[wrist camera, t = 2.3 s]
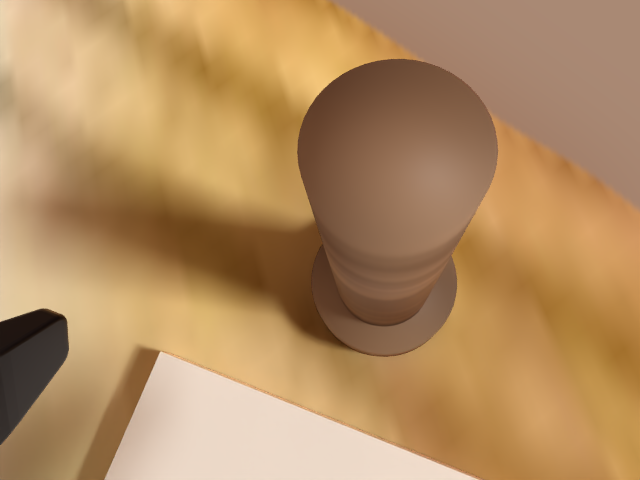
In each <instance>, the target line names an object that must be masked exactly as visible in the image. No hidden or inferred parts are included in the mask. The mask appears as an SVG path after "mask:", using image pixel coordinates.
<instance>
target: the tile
mask: <svg viewBox="0 0 640 480" xmlns="http://www.w3.org/2000/svg"><path fill="white" fill-rule="evenodd" d="M104 480H484V479H482V478H479V477H477V476H474V475H472V474H469V473H467V472H464V471H462V470H459V469H457V468H454V467H452V466H449V465H447V464H444V463H442V462H439V461H437V460H434V459H432V458H430V457H427V456H425V455H422V454H420V453H417V452H415V451H412V450H410V449H407V448H405V447H402V446H400V445H397V444H395V443H392V442H390V441H387V440H385V439H382V438H380V437H377V436H375V435H372V434H370V433H367V432H365V431H362V430H360V429H357V428H355V427H352V426H350V425H348V424H345V423H343V422H340V421H338V420H335V419H333V418H330V417H328V416H325V415H323V414H320V413H318V412H315V411H313V410H310V409H308V408H305V407H303V406H300V405H298V404H295V403H293V402H290V401H288V400H285V399H283V398H280V397H278V396H275V395H273V394H270V393H268V392H266V391H263V390H261V389H258V388H256V387H253V386H251V385H248V384H246V383H243V382H241V381H238V380H236V379H233V378H231V377H228V376H226V375H223V374H221V373H218V372H216V371H213V370H211V369H208V368H206V367H203V366H201V365H198V364H196V363H193V362H191V361H188V360H186V359H183V358H181V357H179V356H176V355H174V354H170V353H166V352H161V351H160V353H159V356H158V358H157V360H156V363H155V365H154V367H153V369H152V372H151V374H150V376H149V379H148V381H147V383H146V386H145V388H144V390H143V392H142V395H141V397H140V399H139V402H138V404H137V406H136V408H135V411H134V413H133V415H132V418H131V420H130V422H129V424H128V427H127V429H126V431H125V434H124V436H123V438H122V441H121V443H120V445H119V447H118V450H117V452H116V454H115V457H114V459H113V461H112V463H111V466H110V468H109V470H108V473H107V475H106V477H105V479H104Z"/></svg>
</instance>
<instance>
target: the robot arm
mask: <svg viewBox="0 0 640 480" xmlns="http://www.w3.org/2000/svg"><path fill="white" fill-rule="evenodd" d="M68 351H69V342H68V327H67V320H66V318H65V316H63V315H62V314H59V313H57V312H54V311H52V310H49V309H38V310H35V311H32V312H29V313H26V314H23V315H20V316H17V317H14V318H11V319H8V320H4V321H1V322H0V445H1V444H2V443H3V442H4V441H5V439H6V438H7V437H8V436H9V435H10V434H11V432H12V431H13V430H14V429H15V427H16V426H17V425H18V424H19V422H20V421H21V420H22V418H23V417H24V416H25V414H26V413H27V412H28V410H29V409H30V408H31V406H32V405H33V403H34V402H35V401H36V399H37V398H38V397H39V395H40V394H41V393H42V391H43V390H44V389H45V387H46V386H47V385H48V383H49V382H50V381H51V379H52V378H53V377H54V375H55V374H56V372H57V371H58V370H59V368H60V367H61V366H62V364H63V363H64V361H65V360H66V358H67V355H68Z"/></svg>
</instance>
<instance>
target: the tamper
mask: <svg viewBox="0 0 640 480" xmlns="http://www.w3.org/2000/svg"><path fill="white" fill-rule="evenodd" d="M297 154H298V165H299V169H300V173H301V177H302V180H303V183H304V186H305V190H306V193H307V196H308V199H309V202H310V205H311V208H312V211H313V214H314V217H315V221H316V224H317V227H318V230H319V233H320V236H321V239H322V242H323V244H322V246H321V247H320V249H319V251H318V254H317V256H316V259H315V262H314V265H313V270H312V282H311V284H312V293H313V298H314V302H315V305H316V307H317V310H318V312H319V314H320V316H321V318H322V319H323V321H324V323H325V324H326V325H327V327H328V328H329V330H330V331H331V332H332V333H333V334H334V335H335V337H336V338H338V339H339V340H340V341H341V342H342V343H344V344H345V345H347V346H348V347H350V348H352V349H354V350H356V351H358V352H361V353H364V354H367V355H373V356H384V357H388V356H396V355H401V354H405V353H407V352H410V351H412V350H414V349H416V348H418V347H420V346H422V345H423V344H424V343H426V342H427V341H428V340H429V339H430V338H431V337H432V336H433V335H434V334H435V333H436V332H437V331H438V330H439V329H440V328H441V327H442V325H443V324H444V323H445V321H446V320H447V318H448V316H449V315H450V312H451V310H452V307H453V305H454V301H455V297H456V290H457V276H456V270H455V265H454V262H453V259H452V256H451V255H452V253H453V252H454V250H455V248H456V246H457V244H458V243H459V241H460V239H461V237H462V236H463V234H464V232H465V230H466V228H467V227H468V225H469V223H470V221H471V219H472V218H473V216H474V214H475V212H476V211H477V209H478V207H479V205H480V203H481V202H482V200H483V198H484V196H485V194H486V193H487V191H488V189H489V187H490V184H491V182H492V180H493V177H494V173H495V169H496V165H497V156H498V145H497V136H496V131H495V127H494V124H493V121H492V118H491V116H490V114H489V112H488V110H487V108H486V106H485V105H484V103H483V102H482V100H481V99H480V98H479V96H478V95H477V94H476V93H475V92H474V91H473V90H472V89H471V87H469V86H468V85H467V84H466V83H465V82H464V81H462V80H461V79H459V78H458V77H457V76H455V75H454V74H452V73H450V72H448V71H446V70H444V69H442V68H440V67H438V66H435V65H432V64H429V63H425V62H421V61H416V60H407V59H388V60H381V61H375V62H371V63H367V64H364V65H361V66H359V67H356V68H354V69H352V70H350V71H348V72H346V73H344V74H342V75H341V76H339V77H338V78H336V79H335V80H334V81H332V82H331V83H330V84H329V85H328V86H327V87H325V88H324V89H323V90H322V92H321V93H320V94H319V95H318V96H317V97H316V99H315V100H314V102H313V103H312V105H311V106H310V107H309V109H308V111H307V113H306V115H305V117H304V120H303V123H302V126H301V129H300V133H299V139H298V151H297Z"/></svg>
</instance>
